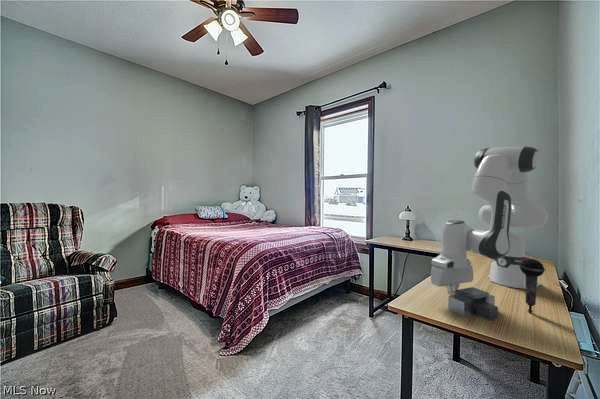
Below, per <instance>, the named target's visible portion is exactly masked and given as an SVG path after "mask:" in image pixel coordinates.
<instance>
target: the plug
mask: <svg viewBox="0 0 600 399" xmlns="http://www.w3.org/2000/svg"><path fill="white" fill-rule="evenodd" d="M451 295H455V291H451ZM451 295H450V296H451ZM473 310H474V311H475V315H476V316H479V317H481V318H483V319H485V320H488V321H492V320H495V319H498V314H499V306H497V305H495V304H494V305H492V304H489V303H487V302H480V303H476V304H474V309H473Z"/></svg>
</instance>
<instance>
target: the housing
mask: <svg viewBox="0 0 600 399" xmlns="http://www.w3.org/2000/svg"><path fill="white" fill-rule="evenodd" d="M495 300H496V298H495V295H493V294H491V293H490V292H488V291H486V290H485V291H484V290H483V289H479V288H476V287H473V286H470V287H466V288H460V289H459V288H458V290H455V295H448V299H447V307H448V308H447V309H448V310H449V311H450V312H451V311H452V312H453V313H455V314H457V315H459V316H461V317H463V318H464V317H468V316H472V315H474V310H475V309H474V304H476V303H480V302H487V303H489V304H492V305H495Z"/></svg>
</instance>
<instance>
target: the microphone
mask: <svg viewBox="0 0 600 399" xmlns="http://www.w3.org/2000/svg"><path fill="white" fill-rule="evenodd" d="M519 267H520V269H521V271H522V272H523V273H524V274H525V283H526V289H525V303H526V304H527V306H528V309H527V312H528V314H533V313H534V312H533V310H532V308H533V307H534V306H535V305H536V300H537V288H538V287H537V281H538V277H541V276H543V274H544V273H545V271H546V268H545V267H544V264H542V262H540V260H537V259H534V258H530V259H525V260H523V261H522V262H521V263H520V265H519Z"/></svg>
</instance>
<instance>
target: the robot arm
mask: <svg viewBox="0 0 600 399" xmlns="http://www.w3.org/2000/svg"><path fill="white" fill-rule="evenodd" d="M473 163H474V167H475V168H476V172H475V175H474V178H473V181H472V184H471V192H472V193H473V196H474V197H475V198H477V199H478V200H480V201H482V202H484V203H486V205H483V206H481V208H480V209H479V210H478V214H477V215H478V218H479V220H480V222H481V223H482V224H484V225H485V226H486V227H488V230H482V229H477V228H476V229H475V228H474V227H472V226H470V225H468V224H467V223H466V221H464V220H461V219H456V220H455V219H454V220H448V221H445V222H444V223H443V225H442V227H441V228H442V230H441V238H440V239H441V249H440V254H438V255H437V256H436V257H434V258H432V259H431V265H432V266H431V269H430V282H431V283H432V285H434V286H436V287H437V288H438V287H439V288H440V287H446V289H447V295H448V296H451V291H455V290H459V287H460V285H461V284H465V283H466V284H467V283H472V282H473V280H474V268H473V265H472V262H471V261H470V259H469V258H468V257H467V252H469V253H472V254H476V255H479V256H480V255H481V256H483V257H485V258H488V259H491V260H493V261H492V262H491V265H490V271H489V272H490V273H489V274H488V275H487V278H489V280H490V281H491V282H493V283H495V284H498V285H501V286H504V287H509V288H517V289H525V290H526V283H525V274H524V273H523V272H522V271H521V269H520V267H519V265H520V263H521V262H522V261H523V260H525V259H531V258H530V256H525V253H526V250H525V248H526V241H525V240H524V238H522V237H521V236H519V235H517V234H515V233H514V232H511V231H510V228H522V229H536V228H537V229H538V228H543V227H545V225H546V224H547V223H548V221H549V215H548V212H547V210H545V209H544V208H543V207H541V206H540V205H538V204H536V202H534V201H533V200H532V199H531V197H530V196H529V195H530V194H529V189H528V179H529V177H528V176H529V175H528V172H532V171H533V170H535V169H536V167H537V166H538V165H539V163H540V152H539V150H538V149H536V148H535V147H532V146H524V147H523V146H503V147H502V146H501V147H492V148H491V147H487V148H482V149H480V150H479V151H477V152H476V154H475V155H474V158H473ZM539 286H542V282H541V281H538V280H537V288H538V287H539Z"/></svg>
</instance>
